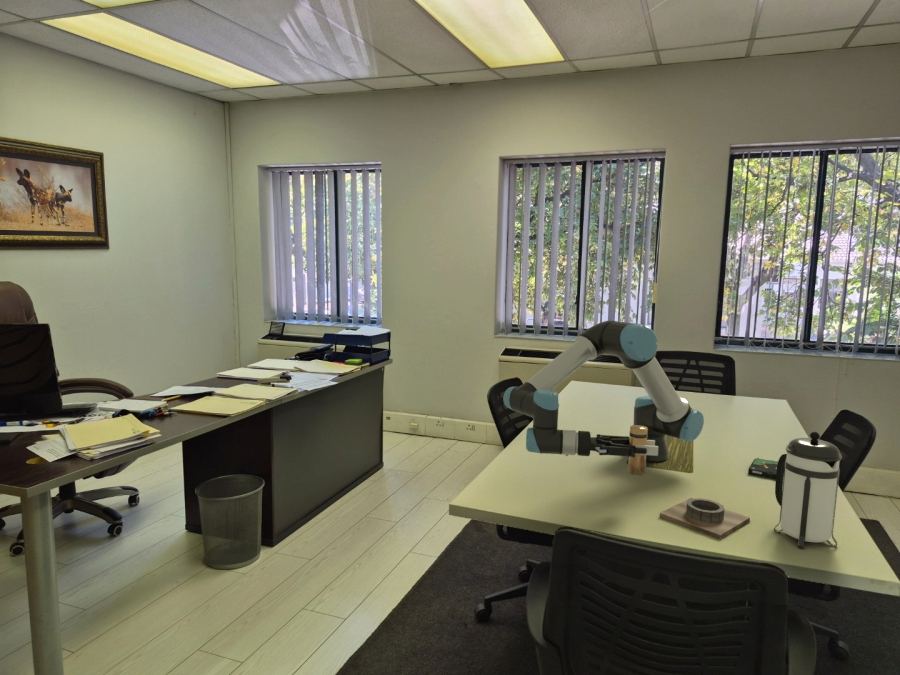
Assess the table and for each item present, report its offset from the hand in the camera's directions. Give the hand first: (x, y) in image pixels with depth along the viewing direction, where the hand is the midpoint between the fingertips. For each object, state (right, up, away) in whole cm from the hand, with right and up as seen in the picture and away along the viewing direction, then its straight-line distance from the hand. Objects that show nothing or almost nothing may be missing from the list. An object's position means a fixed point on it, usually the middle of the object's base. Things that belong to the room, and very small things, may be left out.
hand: (656, 447), depth 180 cm
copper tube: (-5, -8, +2) cm, 10 cm away
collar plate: (+12, -20, -5) cm, 24 cm away
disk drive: (+52, -16, +36) cm, 65 cm away
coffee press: (+34, -22, -15) cm, 43 cm away
